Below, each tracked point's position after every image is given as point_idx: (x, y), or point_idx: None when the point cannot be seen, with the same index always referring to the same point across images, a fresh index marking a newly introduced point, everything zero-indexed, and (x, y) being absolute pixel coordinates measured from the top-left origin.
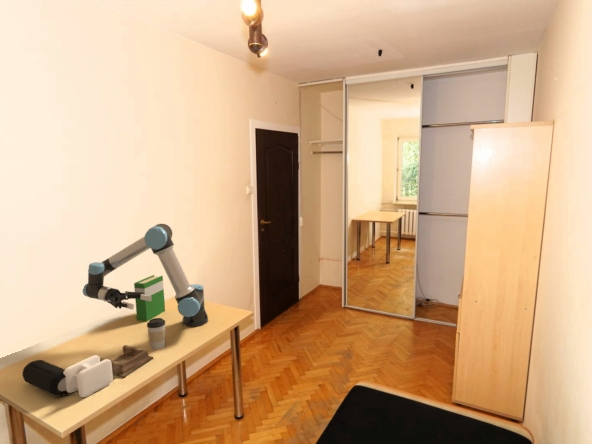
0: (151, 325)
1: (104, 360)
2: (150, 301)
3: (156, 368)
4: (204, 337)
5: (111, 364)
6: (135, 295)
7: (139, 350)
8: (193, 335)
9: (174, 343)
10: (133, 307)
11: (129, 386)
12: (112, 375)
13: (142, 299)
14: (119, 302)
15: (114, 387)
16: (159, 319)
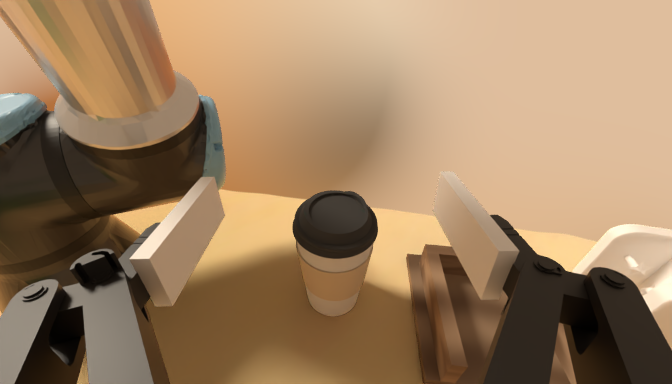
0: (372, 217)
1: (644, 229)
2: (223, 215)
3: (438, 225)
4: (246, 202)
5: (602, 237)
6: (144, 337)
7: (442, 270)
8: (231, 231)
9: (296, 254)
10: (437, 198)
11: (531, 235)
12: (579, 263)
13: (187, 278)
14: (562, 269)
15: (567, 263)
16: (315, 208)
